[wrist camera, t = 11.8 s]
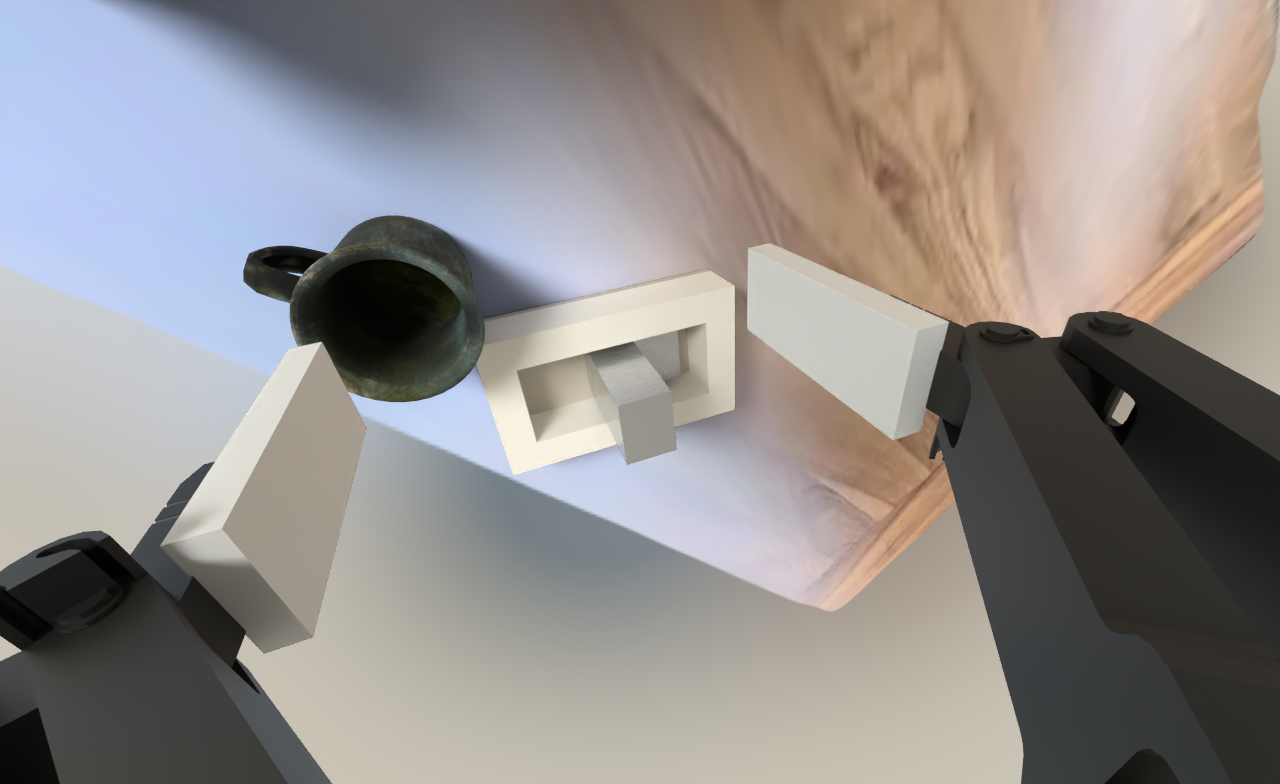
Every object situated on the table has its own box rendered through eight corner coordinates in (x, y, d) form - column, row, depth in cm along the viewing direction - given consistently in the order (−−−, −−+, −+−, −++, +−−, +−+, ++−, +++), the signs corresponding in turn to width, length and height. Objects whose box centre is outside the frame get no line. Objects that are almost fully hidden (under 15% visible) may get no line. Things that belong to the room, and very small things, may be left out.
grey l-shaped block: (580, 339, 48) (617, 406, 37) (669, 317, 50) (728, 375, 39) (590, 390, 51) (626, 464, 41) (673, 367, 53) (729, 433, 43)
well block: (468, 322, 44) (470, 348, 40) (707, 268, 50) (734, 285, 45) (507, 441, 52) (513, 475, 47) (711, 384, 57) (734, 409, 52)
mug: (458, 349, 45) (461, 417, 36) (269, 303, 39) (208, 370, 29) (492, 238, 42) (505, 280, 32) (290, 165, 35) (228, 189, 25)
